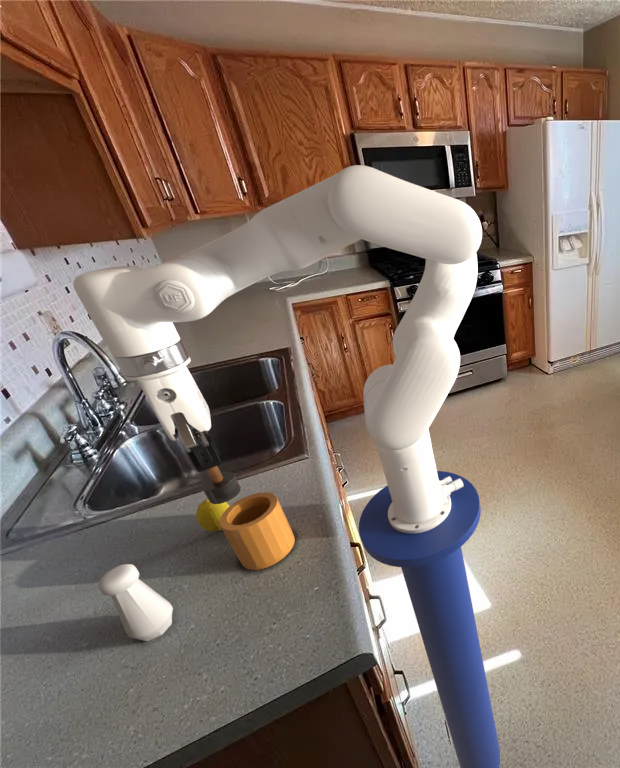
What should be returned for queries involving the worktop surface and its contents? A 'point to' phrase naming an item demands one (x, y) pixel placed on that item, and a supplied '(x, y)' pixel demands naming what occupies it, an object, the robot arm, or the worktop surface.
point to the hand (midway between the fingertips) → (209, 463)
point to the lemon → (210, 515)
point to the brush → (220, 485)
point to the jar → (257, 530)
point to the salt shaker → (136, 603)
